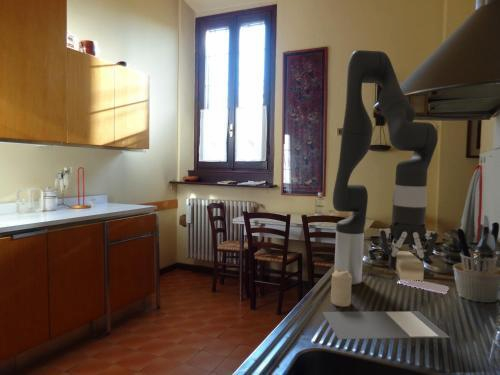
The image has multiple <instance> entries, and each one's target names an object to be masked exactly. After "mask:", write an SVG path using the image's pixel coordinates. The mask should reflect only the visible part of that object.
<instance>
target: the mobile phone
mask: <svg viewBox="0 0 500 375" xmlns="http://www.w3.org/2000/svg"><path fill="white" fill-rule="evenodd" d="M399 279H400V278H399ZM399 279H398V280H397V282H396V284H398V283H399V284H398V285H400V284H403V285H402V286H405V285H407V286H406V287H409V286H411V287H410V288H414V287H416V288H415V289H419V288H421V289H420V290H423V289H424V291H427V292H433V293H437V294H441V293H442V295H446V294H448V292H447V291H449V289H450V288H449V286H447V285H444V284H439V283H435V282H429V281H424V280H420V281H418V280H417V281H416V280H415V281H414V280H407V279H400V280H399ZM421 281H422V282H421Z"/></svg>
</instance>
